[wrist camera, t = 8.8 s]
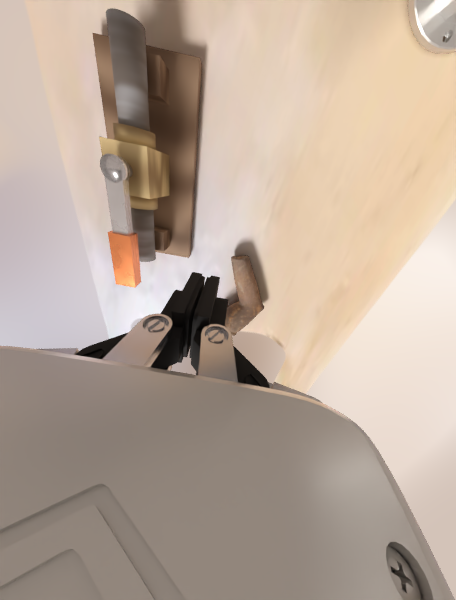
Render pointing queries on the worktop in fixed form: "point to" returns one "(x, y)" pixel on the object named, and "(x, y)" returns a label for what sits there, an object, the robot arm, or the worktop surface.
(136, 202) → the valve stand
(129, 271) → the valve lever
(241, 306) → the pipe
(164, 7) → the worktop surface
